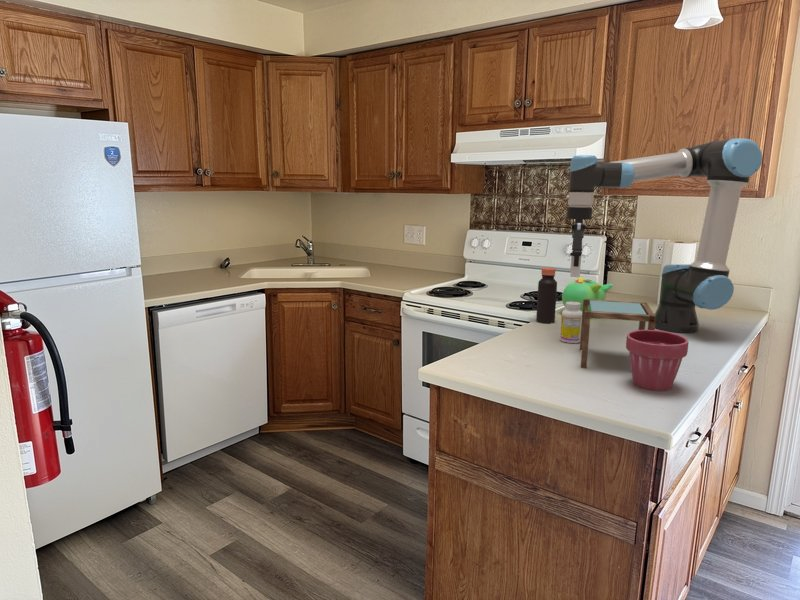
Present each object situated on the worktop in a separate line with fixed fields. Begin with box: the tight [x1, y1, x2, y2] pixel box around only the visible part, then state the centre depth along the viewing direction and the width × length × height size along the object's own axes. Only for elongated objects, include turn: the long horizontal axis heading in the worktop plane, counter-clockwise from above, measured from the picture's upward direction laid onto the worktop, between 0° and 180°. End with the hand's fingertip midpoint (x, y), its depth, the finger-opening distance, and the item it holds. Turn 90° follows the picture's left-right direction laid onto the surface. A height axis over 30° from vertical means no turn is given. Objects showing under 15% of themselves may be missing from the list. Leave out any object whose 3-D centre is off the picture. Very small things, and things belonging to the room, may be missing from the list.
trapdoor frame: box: [579, 299, 656, 369], centre depth 159 cm, size 18×19×16 cm
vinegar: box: [535, 267, 558, 324], centre depth 204 cm, size 7×7×20 cm
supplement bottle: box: [559, 302, 582, 344], centre depth 179 cm, size 7×7×13 cm
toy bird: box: [561, 276, 614, 311], centre depth 217 cm, size 18×17×15 cm
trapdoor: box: [590, 300, 647, 315], centre depth 157 cm, size 14×15×1 cm
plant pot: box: [625, 329, 689, 392], centre depth 140 cm, size 14×14×13 cm
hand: (574, 273), depth 176 cm, fingers open, 13 cm apart
